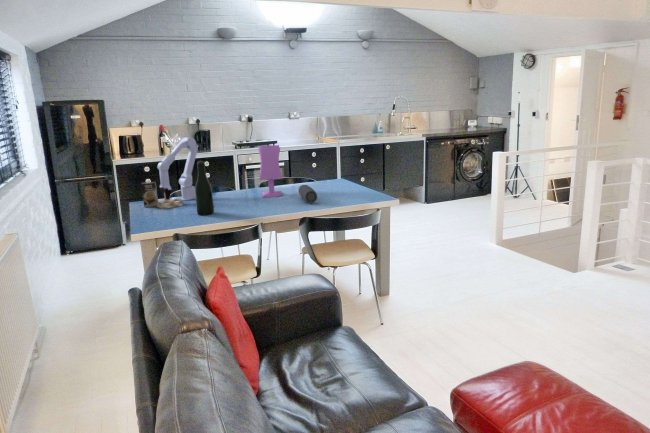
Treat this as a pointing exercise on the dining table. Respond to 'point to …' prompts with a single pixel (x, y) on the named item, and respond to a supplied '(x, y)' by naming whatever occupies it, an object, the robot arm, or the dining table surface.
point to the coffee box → (149, 194)
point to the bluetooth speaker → (307, 193)
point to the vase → (270, 168)
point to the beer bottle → (203, 192)
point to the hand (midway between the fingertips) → (167, 198)
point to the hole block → (169, 203)
